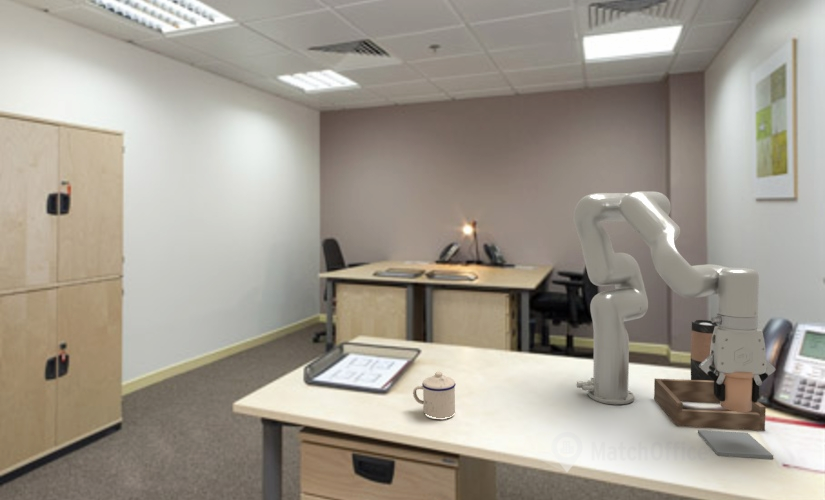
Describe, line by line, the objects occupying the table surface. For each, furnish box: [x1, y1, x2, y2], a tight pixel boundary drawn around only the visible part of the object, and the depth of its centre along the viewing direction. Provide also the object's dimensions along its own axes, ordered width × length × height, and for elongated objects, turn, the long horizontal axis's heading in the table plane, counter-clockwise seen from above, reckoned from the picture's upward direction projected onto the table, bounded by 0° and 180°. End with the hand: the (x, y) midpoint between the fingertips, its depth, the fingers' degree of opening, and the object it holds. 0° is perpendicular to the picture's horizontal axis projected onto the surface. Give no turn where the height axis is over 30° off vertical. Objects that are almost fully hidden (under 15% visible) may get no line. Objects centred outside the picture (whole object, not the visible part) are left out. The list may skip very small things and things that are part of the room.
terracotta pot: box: [719, 372, 755, 412], centre depth 110 cm, size 7×7×9 cm
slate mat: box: [697, 429, 774, 460], centre depth 111 cm, size 11×11×1 cm
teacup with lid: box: [412, 371, 456, 418], centre depth 132 cm, size 12×9×12 cm
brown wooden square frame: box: [653, 378, 767, 432], centre depth 128 cm, size 20×18×6 cm
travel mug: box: [690, 319, 718, 381], centre depth 147 cm, size 8×8×20 cm
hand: (735, 399), depth 110 cm, fingers closed on terracotta pot, 6 cm apart
